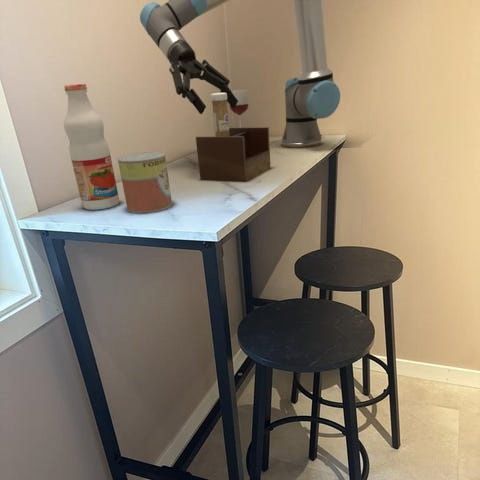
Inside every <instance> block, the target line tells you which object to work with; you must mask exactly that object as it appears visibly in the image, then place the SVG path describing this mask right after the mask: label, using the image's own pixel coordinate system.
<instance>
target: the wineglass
mask: <svg viewBox="0 0 480 480" xmlns="http://www.w3.org/2000/svg"><path fill="white" fill-rule="evenodd" d="M231 91H232V93H233V95H234V96H235V97H236V99H237V100H238V102H237V104H236V106H235V107H234V108H232V107H231V106H230V104H229V103H228V106H229V109H230V110H231V112H233V113H234V114H237V115H238V123H239V125H238V126H239V128H242V114H244V113H245V112H247V110H248V109H249V103H250V89H249V88H247V89H245V88H244V89H233V90H231Z"/></svg>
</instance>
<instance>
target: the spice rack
mask: <svg viewBox="0 0 480 480" xmlns="http://www.w3.org/2000/svg"><path fill="white" fill-rule="evenodd" d="M229 135H230V136H222V137H216V136H196V137H195V144H196V151H197V161H198V171H199V179H200V181H216V182H217V181H219V182H241V183H242V182H244V183H246V182H247V181H250V180H251V179H253V178H255V177H257V176H259V175H260V174H262V173H264V172H266V171H268V170H270V169H271V145H270V144H271V143H270V127H269V126H262V127H260V126H255V127H254V126H252V127H249V126H248V127H241V128H240V127H229Z"/></svg>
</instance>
